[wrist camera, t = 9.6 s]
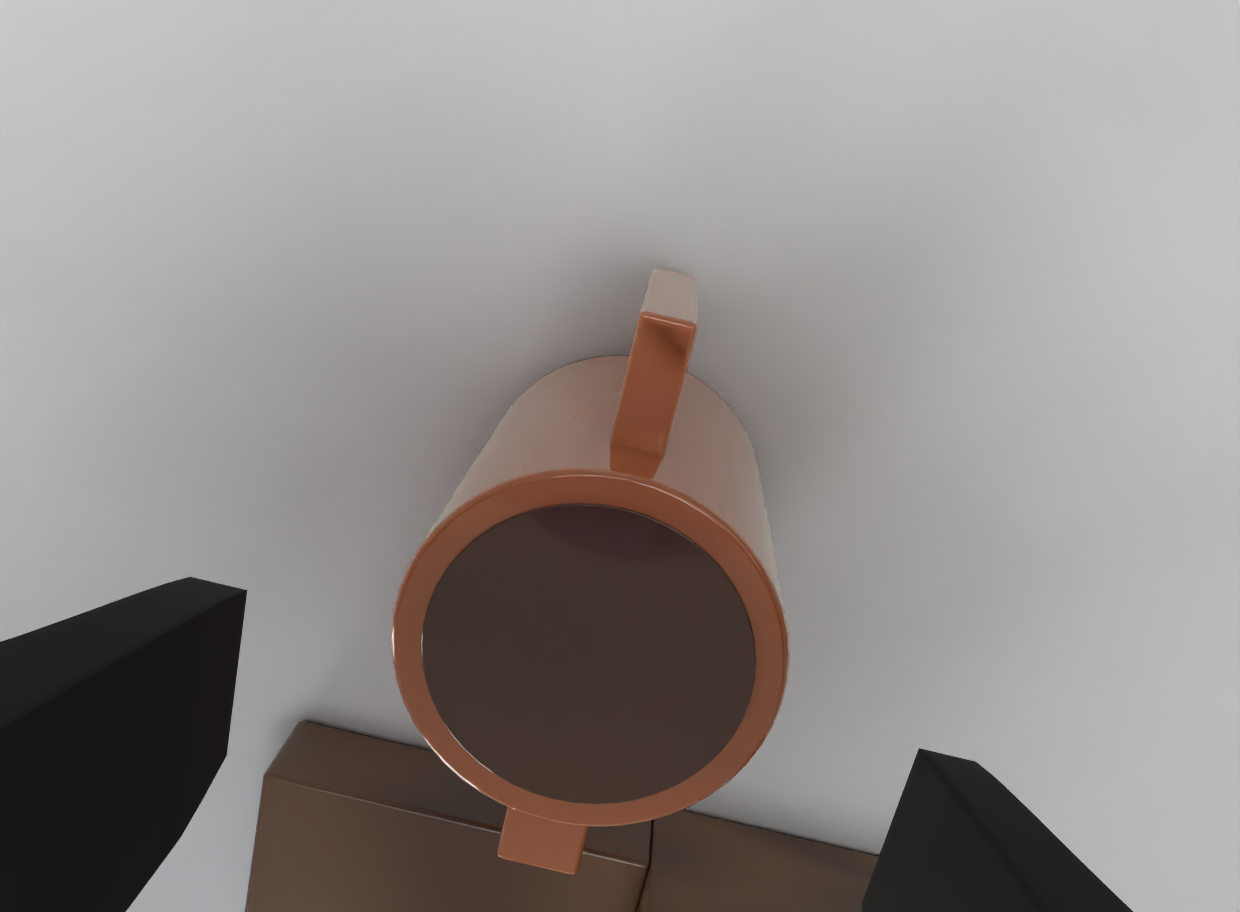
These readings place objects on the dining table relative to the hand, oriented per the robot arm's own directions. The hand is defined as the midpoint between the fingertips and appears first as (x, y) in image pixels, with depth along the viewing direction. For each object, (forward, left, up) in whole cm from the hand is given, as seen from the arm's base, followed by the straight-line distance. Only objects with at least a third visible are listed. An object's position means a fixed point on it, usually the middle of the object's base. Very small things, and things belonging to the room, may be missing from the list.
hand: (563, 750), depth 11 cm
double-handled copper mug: (0, 0, -8) cm, 8 cm away
